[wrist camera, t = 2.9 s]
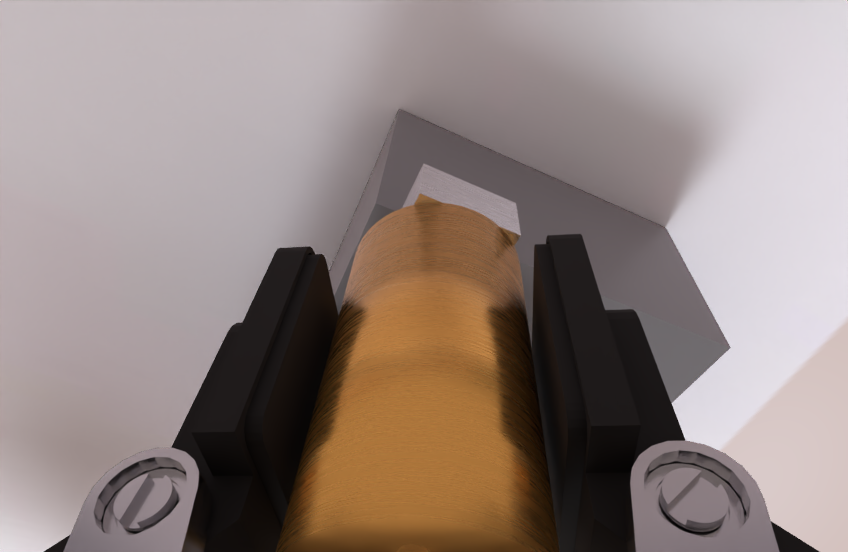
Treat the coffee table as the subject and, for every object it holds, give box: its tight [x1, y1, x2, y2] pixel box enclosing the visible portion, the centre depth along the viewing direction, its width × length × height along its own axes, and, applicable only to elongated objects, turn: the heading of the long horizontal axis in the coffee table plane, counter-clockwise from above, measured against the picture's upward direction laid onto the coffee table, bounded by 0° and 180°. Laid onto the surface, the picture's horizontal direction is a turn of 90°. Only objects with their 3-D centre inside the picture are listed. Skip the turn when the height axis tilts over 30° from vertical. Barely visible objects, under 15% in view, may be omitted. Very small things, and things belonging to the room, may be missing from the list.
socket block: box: [329, 109, 730, 403], centre depth 21 cm, size 17×10×7 cm, turn 156°
